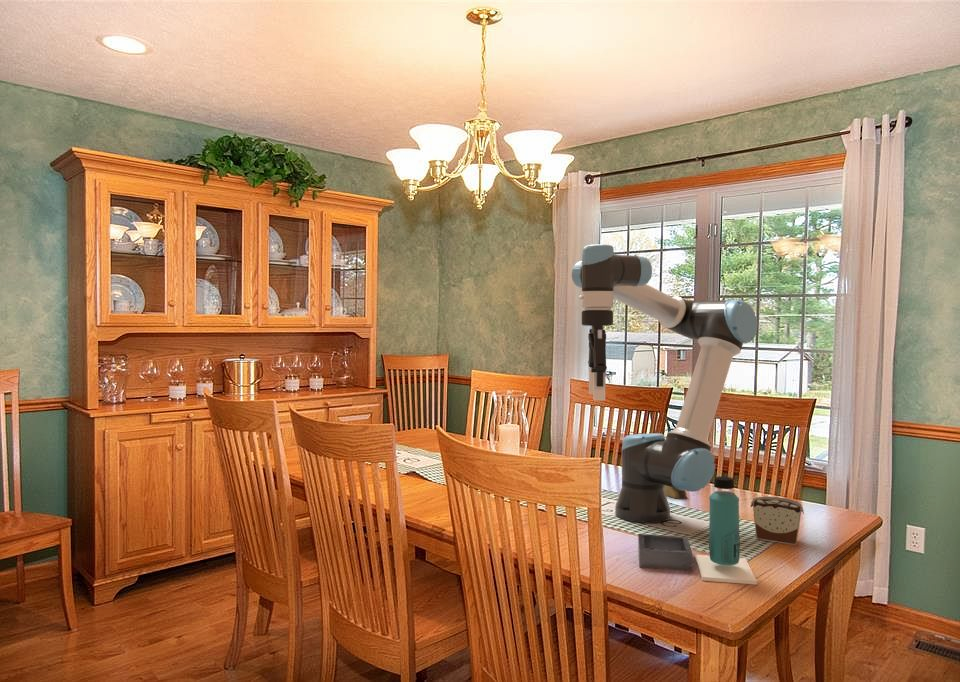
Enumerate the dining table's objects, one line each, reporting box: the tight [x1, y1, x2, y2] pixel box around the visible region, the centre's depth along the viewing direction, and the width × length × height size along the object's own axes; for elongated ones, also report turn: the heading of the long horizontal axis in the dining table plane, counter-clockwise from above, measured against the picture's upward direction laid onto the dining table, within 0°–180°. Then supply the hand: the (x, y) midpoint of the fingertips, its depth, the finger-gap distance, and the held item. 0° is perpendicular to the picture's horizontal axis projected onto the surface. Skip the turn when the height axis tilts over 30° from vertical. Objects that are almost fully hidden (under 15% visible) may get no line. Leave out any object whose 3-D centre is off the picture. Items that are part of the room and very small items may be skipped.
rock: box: [664, 485, 688, 499], centre depth 217 cm, size 11×9×10 cm
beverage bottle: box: [708, 475, 741, 565], centre depth 152 cm, size 6×7×20 cm
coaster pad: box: [694, 554, 758, 585], centre depth 152 cm, size 14×11×1 cm
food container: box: [750, 496, 805, 546], centre depth 174 cm, size 12×6×10 cm, turn 59°
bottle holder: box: [637, 533, 693, 572], centre depth 159 cm, size 11×11×4 cm
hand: (596, 397), depth 166 cm, fingers open, 13 cm apart
